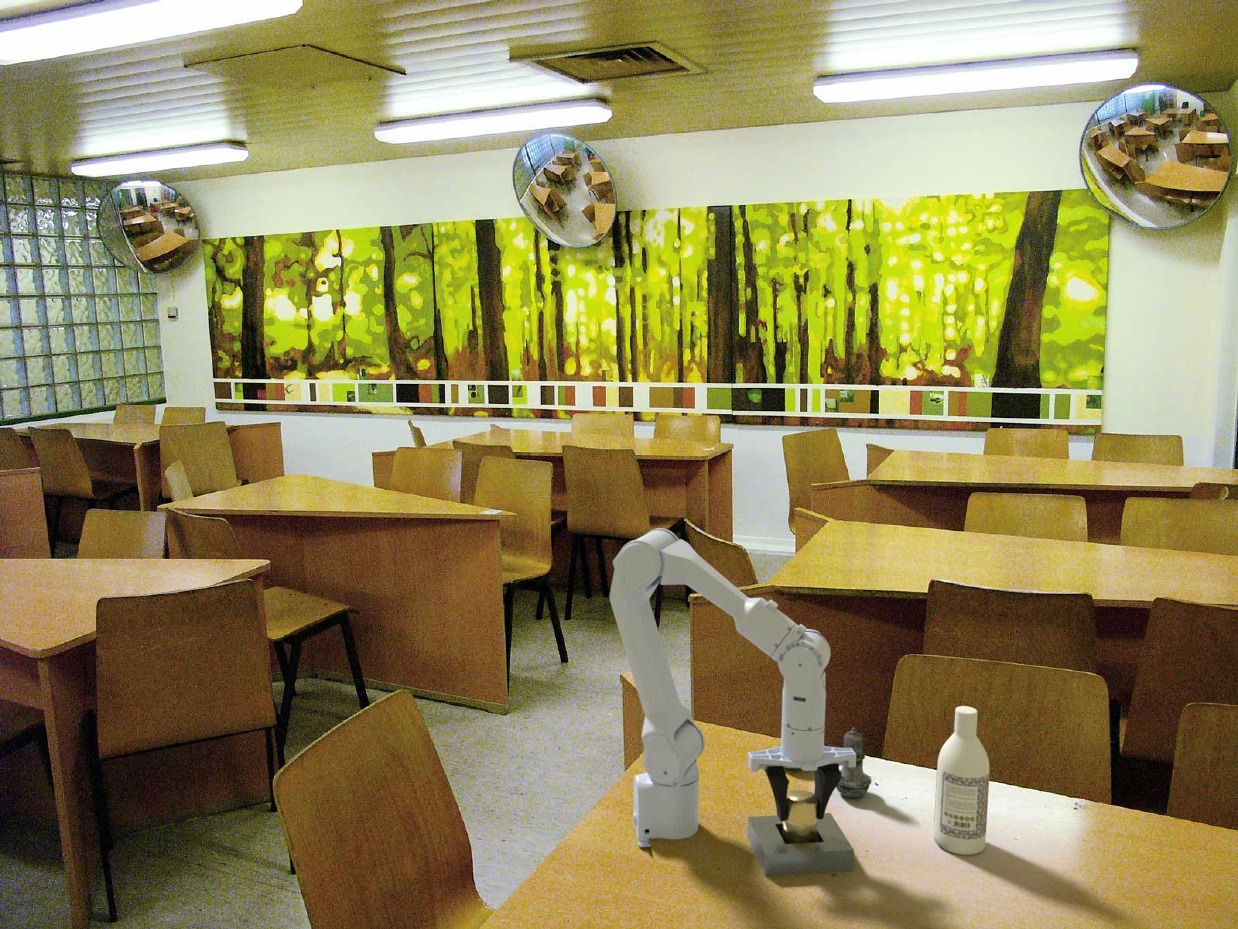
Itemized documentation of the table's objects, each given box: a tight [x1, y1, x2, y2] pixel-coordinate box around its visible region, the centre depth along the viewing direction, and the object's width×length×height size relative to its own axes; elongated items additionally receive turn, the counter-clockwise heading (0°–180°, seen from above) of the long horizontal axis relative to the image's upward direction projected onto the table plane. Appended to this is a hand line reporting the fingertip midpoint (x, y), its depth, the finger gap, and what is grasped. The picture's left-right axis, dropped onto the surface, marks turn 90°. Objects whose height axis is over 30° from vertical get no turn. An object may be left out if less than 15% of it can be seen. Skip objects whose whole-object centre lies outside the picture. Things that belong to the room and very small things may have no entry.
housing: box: [747, 812, 855, 877], centre depth 136 cm, size 12×10×4 cm
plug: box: [782, 789, 818, 844], centre depth 135 cm, size 5×5×6 cm
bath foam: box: [933, 705, 991, 856], centre depth 139 cm, size 7×7×20 cm
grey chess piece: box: [835, 726, 872, 799], centre depth 152 cm, size 6×6×12 cm
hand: (799, 816), depth 135 cm, fingers closed on plug, 5 cm apart
